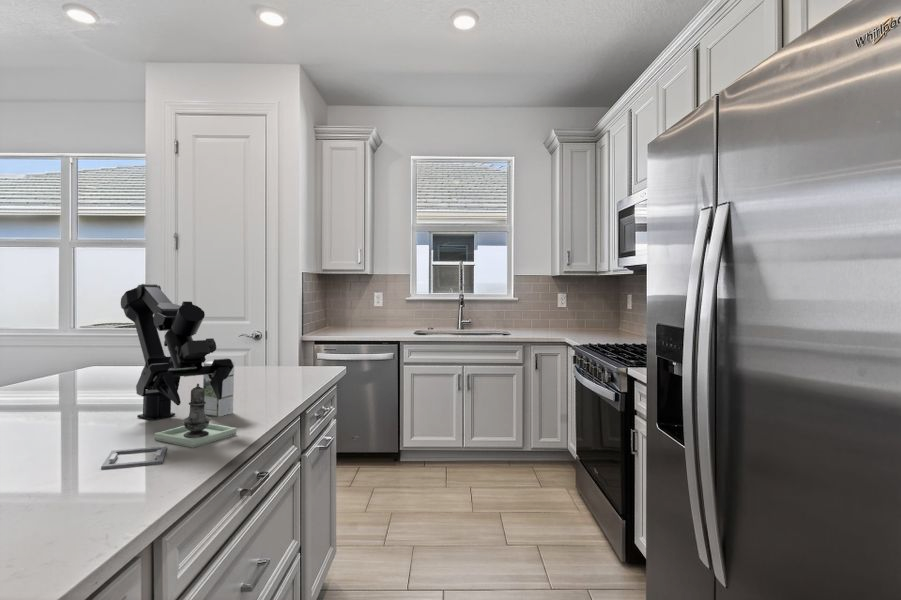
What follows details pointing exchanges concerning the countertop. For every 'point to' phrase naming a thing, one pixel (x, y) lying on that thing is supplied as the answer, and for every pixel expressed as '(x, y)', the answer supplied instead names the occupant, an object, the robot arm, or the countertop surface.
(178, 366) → the robot arm
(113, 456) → the socket
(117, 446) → the countertop surface
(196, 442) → the tray
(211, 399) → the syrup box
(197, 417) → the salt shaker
